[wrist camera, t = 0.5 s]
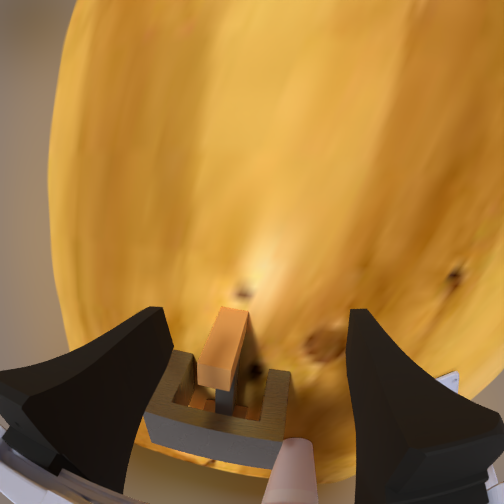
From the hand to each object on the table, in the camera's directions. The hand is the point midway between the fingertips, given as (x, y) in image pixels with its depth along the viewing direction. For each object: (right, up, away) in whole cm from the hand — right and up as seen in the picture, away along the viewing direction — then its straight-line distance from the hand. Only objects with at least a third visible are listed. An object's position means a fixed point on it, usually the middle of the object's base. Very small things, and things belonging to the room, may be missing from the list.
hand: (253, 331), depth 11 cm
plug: (-2, -8, +14) cm, 16 cm away
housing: (-2, -8, +14) cm, 16 cm away
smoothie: (+5, -18, +18) cm, 26 cm away
